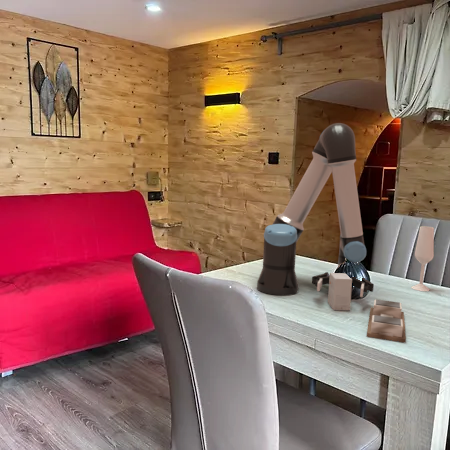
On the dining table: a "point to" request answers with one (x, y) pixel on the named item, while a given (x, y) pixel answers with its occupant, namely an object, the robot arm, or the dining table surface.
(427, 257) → the champagne flute
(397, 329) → the board
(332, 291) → the small box
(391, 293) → the dining table surface
